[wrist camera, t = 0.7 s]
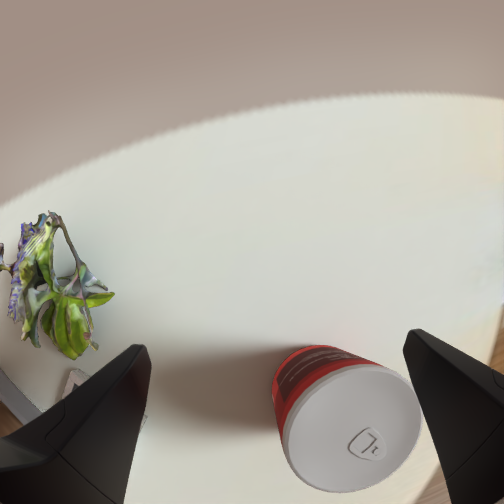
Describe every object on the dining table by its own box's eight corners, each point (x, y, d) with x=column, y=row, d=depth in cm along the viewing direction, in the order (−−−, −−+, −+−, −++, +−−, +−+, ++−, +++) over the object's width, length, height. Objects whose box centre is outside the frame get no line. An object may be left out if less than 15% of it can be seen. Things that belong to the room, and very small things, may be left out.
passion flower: (75, 284, 30) (19, 203, 22) (150, 280, 28) (92, 177, 20) (38, 367, 22) (-44, 290, 13) (116, 385, 20) (10, 290, 11)
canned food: (332, 439, 21) (375, 504, 10) (253, 405, 22) (252, 469, 11) (375, 366, 23) (447, 394, 12) (298, 328, 23) (333, 340, 13)
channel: (55, 425, 21) (39, 432, 18) (42, 479, 19) (29, 487, 16) (-4, 364, 22) (-20, 366, 19) (-13, 423, 20) (-26, 427, 17)
